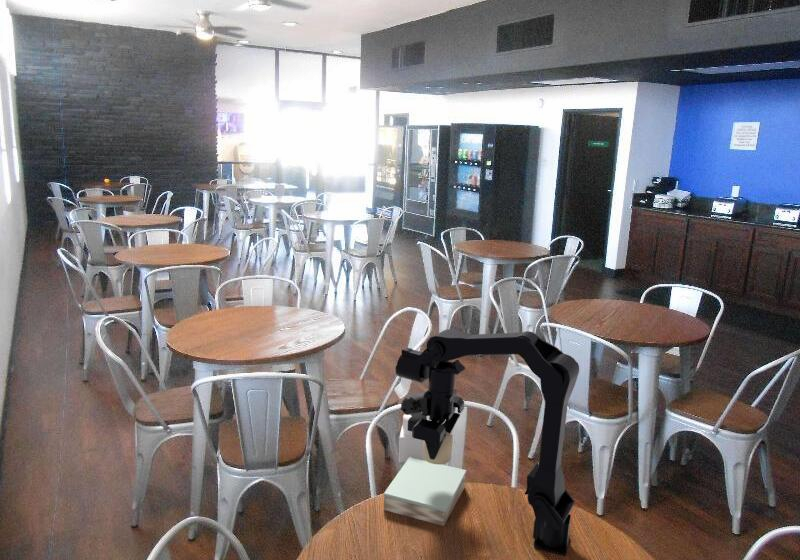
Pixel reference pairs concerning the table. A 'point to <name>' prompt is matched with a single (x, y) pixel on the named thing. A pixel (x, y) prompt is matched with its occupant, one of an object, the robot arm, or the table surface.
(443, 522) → the box
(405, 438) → the medicine bottle
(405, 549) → the table surface
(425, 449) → the cream dome knob
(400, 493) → the lid
